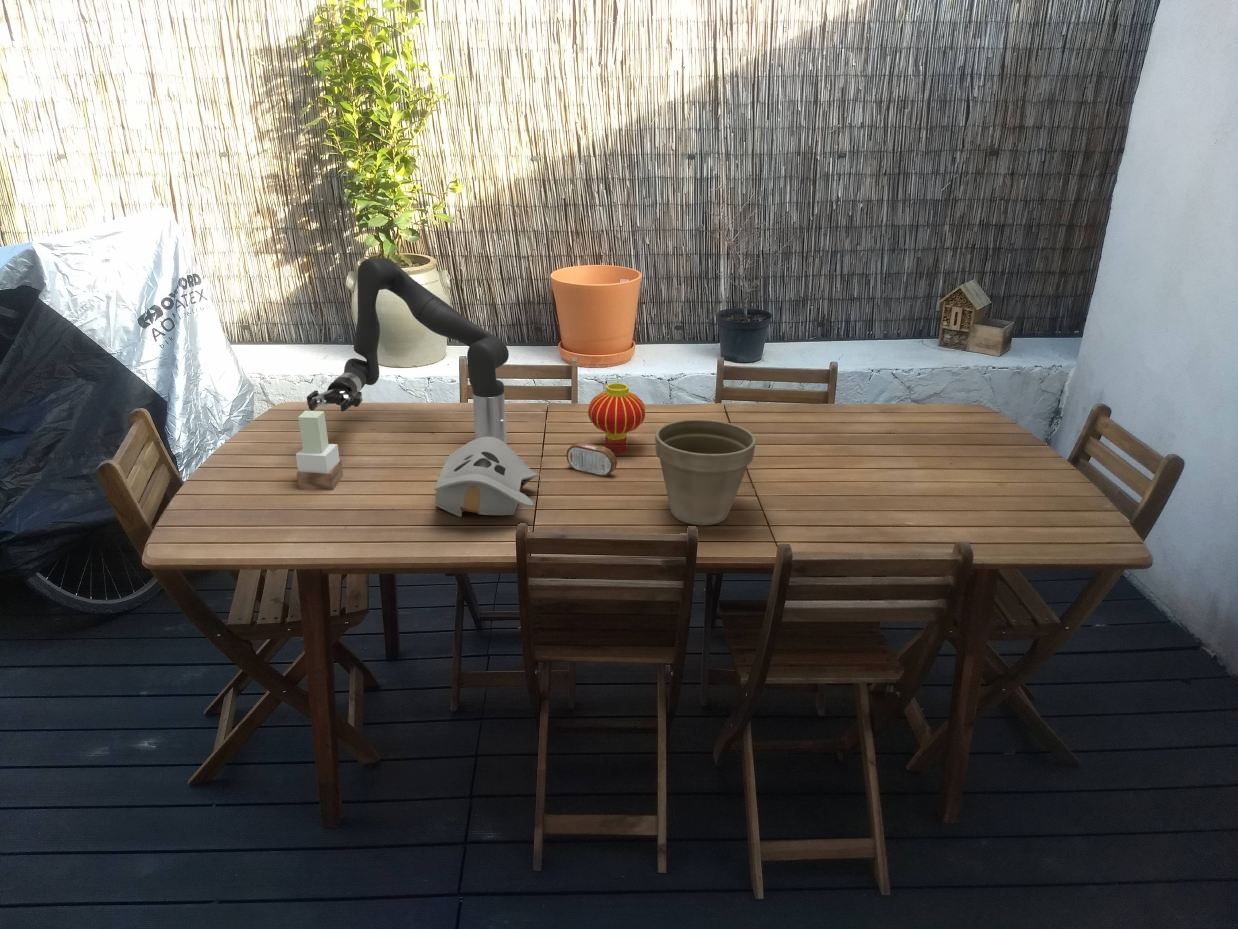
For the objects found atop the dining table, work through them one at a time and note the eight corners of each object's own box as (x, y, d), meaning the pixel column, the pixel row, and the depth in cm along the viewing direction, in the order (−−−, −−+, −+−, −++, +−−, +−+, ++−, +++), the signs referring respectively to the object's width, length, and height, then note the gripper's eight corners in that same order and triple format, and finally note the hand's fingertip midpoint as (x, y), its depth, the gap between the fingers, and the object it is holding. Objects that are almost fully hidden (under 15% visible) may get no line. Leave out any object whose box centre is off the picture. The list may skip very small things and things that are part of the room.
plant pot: (694, 483, 223) (700, 410, 214) (767, 514, 207) (776, 436, 198) (631, 510, 207) (634, 433, 198) (705, 546, 191) (711, 464, 182)
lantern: (578, 454, 239) (579, 357, 226) (601, 435, 253) (602, 343, 241) (631, 465, 233) (635, 366, 221) (651, 444, 248) (656, 350, 235)
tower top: (339, 461, 219) (337, 444, 217) (327, 473, 211) (325, 456, 209) (311, 459, 219) (308, 442, 217) (298, 471, 212) (295, 454, 210)
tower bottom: (343, 476, 222) (341, 459, 220) (333, 490, 213) (331, 473, 211) (310, 475, 221) (307, 459, 219) (299, 490, 213) (296, 473, 211)
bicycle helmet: (443, 476, 219) (452, 424, 213) (534, 495, 222) (546, 444, 216) (422, 524, 193) (432, 467, 187) (526, 545, 196) (539, 490, 190)
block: (328, 445, 215) (324, 411, 211) (322, 453, 211) (317, 417, 207) (310, 445, 215) (305, 410, 211) (303, 452, 211) (298, 417, 207)
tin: (617, 475, 226) (617, 448, 223) (612, 480, 224) (613, 452, 220) (570, 465, 232) (570, 438, 228) (564, 469, 229) (564, 442, 226)
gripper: (319, 375, 233) (298, 394, 218) (368, 377, 233) (350, 395, 219) (322, 400, 236) (302, 419, 221) (370, 401, 236) (354, 421, 222)
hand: (326, 407), depth 220 cm, fingers open, 8 cm apart
